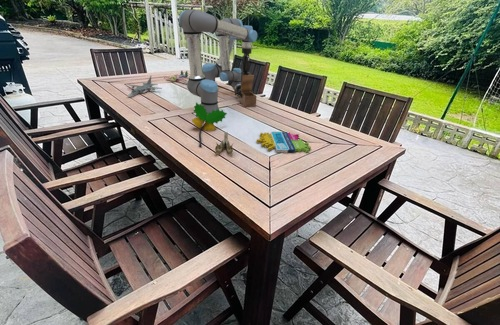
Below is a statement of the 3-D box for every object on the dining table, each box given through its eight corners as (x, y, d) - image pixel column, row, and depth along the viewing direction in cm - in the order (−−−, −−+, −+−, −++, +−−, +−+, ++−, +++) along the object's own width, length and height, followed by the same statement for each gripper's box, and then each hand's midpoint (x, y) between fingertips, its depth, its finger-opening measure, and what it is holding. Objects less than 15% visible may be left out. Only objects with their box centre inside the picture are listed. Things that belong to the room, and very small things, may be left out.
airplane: (121, 87, 235) (119, 76, 230) (157, 85, 248) (156, 74, 243) (125, 100, 206) (123, 87, 201) (166, 97, 219) (165, 85, 214)
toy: (196, 71, 285) (184, 76, 259) (196, 78, 288) (184, 83, 262) (173, 69, 290) (158, 73, 264) (173, 75, 293) (159, 80, 267)
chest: (255, 106, 211) (256, 95, 206) (244, 107, 208) (245, 96, 204) (250, 102, 221) (251, 91, 217) (240, 102, 219) (240, 91, 214)
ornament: (218, 133, 171) (224, 110, 169) (221, 134, 163) (227, 111, 161) (186, 125, 162) (192, 101, 160) (189, 126, 155) (195, 101, 153)
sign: (313, 150, 142) (258, 149, 139) (312, 153, 143) (258, 152, 140) (301, 132, 164) (254, 130, 161) (301, 134, 165) (254, 133, 162)
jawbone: (234, 135, 144) (233, 125, 135) (233, 160, 138) (232, 151, 129) (217, 135, 144) (216, 125, 135) (216, 160, 138) (214, 150, 129)
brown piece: (254, 75, 207) (251, 70, 213) (243, 75, 204) (240, 70, 210) (251, 91, 216) (248, 85, 222) (240, 91, 214) (238, 86, 220)
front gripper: (254, 49, 198) (252, 80, 210) (248, 47, 210) (246, 77, 222) (245, 49, 196) (243, 81, 207) (239, 46, 208) (238, 77, 219)
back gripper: (251, 92, 237) (259, 99, 219) (227, 93, 230) (234, 100, 212) (251, 84, 233) (260, 91, 215) (227, 84, 227) (234, 91, 208)
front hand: (245, 78), depth 214 cm, fingers closed on brown piece, 2 cm apart
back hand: (247, 95), depth 213 cm, fingers closed on chest, 9 cm apart
